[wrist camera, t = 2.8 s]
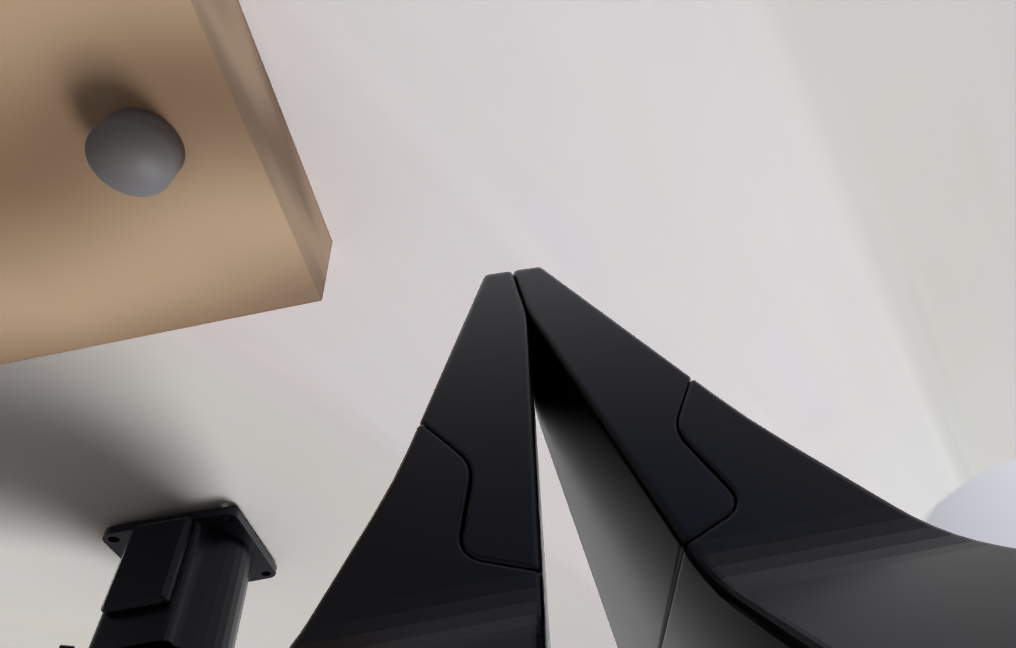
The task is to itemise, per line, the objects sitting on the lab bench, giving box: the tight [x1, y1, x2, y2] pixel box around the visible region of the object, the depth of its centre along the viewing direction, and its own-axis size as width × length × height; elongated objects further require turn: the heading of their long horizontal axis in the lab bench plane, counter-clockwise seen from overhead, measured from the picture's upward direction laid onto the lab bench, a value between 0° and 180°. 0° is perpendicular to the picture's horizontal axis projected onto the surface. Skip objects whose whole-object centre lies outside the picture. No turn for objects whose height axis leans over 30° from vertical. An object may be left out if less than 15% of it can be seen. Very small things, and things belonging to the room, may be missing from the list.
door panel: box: [0, 0, 332, 365], centre depth 15 cm, size 11×13×5 cm
